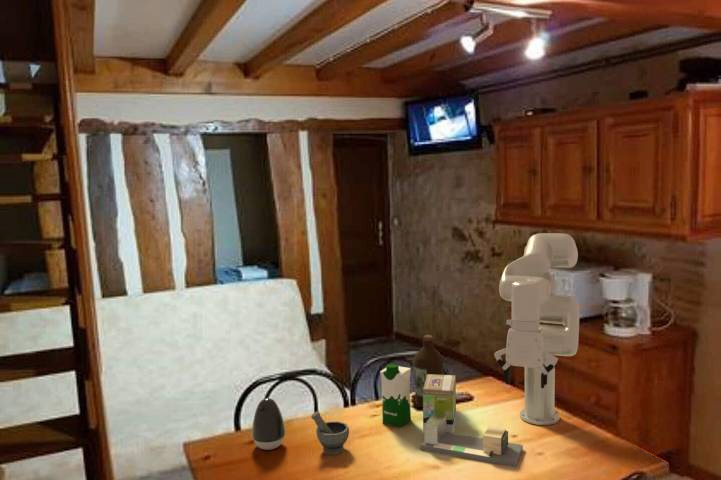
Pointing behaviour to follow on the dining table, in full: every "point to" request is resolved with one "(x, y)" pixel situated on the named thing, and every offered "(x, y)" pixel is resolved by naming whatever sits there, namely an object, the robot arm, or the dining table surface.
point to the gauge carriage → (495, 440)
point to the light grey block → (435, 429)
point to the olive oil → (426, 366)
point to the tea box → (440, 399)
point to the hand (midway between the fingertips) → (525, 384)
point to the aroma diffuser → (268, 425)
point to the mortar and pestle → (331, 434)
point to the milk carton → (395, 395)
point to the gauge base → (474, 449)
